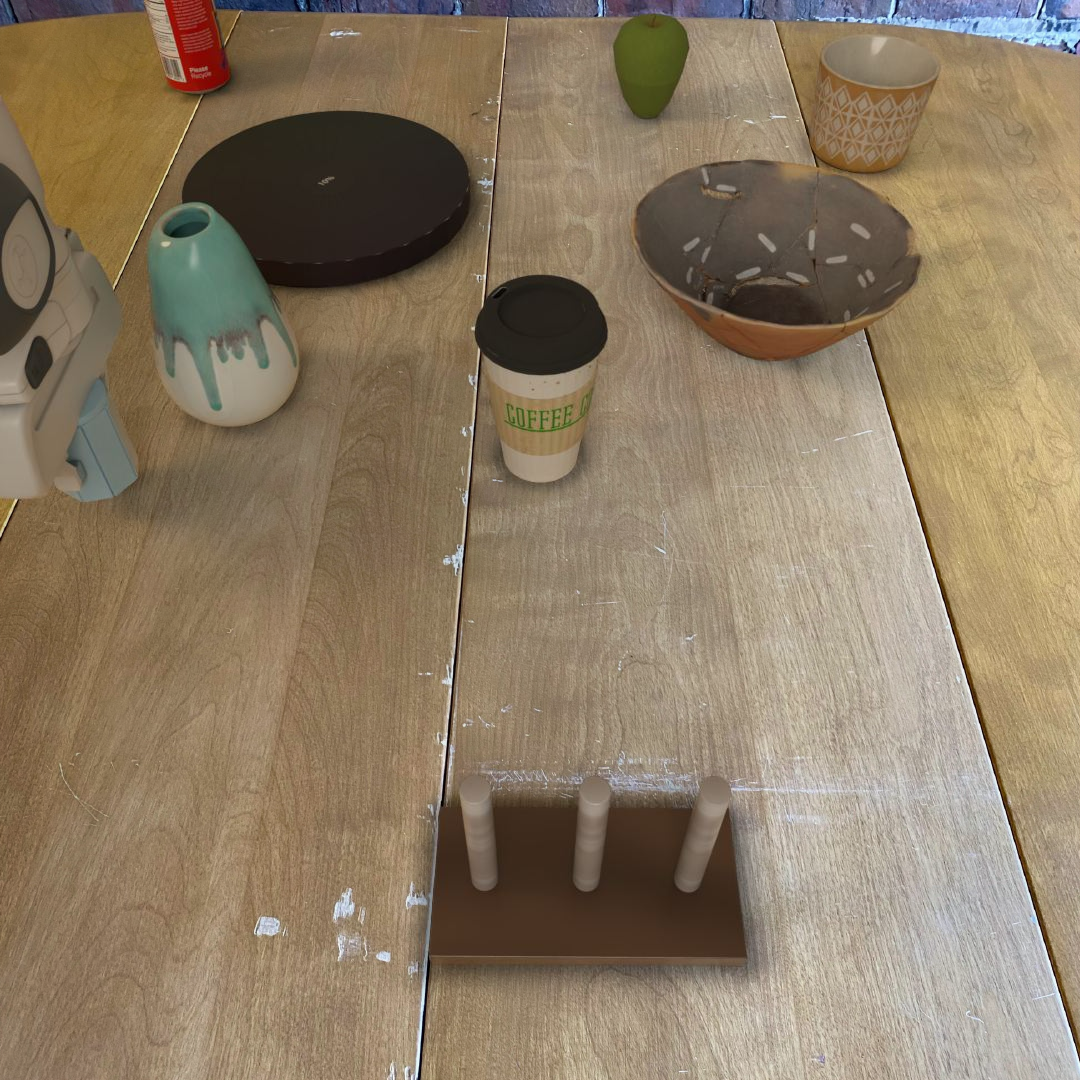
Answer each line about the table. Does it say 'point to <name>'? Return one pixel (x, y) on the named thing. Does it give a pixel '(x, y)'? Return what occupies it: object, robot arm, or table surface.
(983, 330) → the table surface
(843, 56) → the planter
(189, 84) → the soda can
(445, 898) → the cup rack
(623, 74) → the apple
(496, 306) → the coffee cup
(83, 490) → the blue cup
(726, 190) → the bowl
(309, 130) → the disc
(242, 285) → the vase
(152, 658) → the table surface
